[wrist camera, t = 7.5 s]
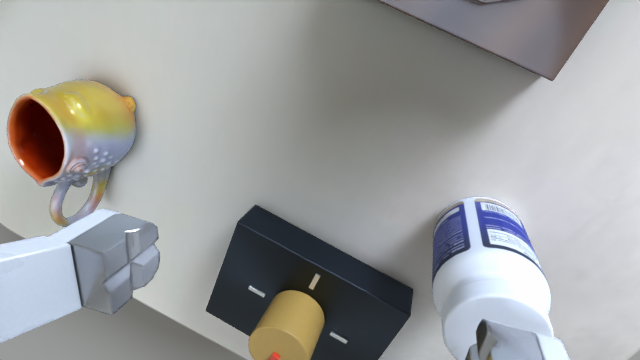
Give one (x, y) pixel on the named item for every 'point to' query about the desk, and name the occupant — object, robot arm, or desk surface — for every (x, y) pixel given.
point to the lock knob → (288, 328)
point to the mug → (71, 138)
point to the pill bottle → (485, 273)
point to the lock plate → (308, 287)
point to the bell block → (512, 27)
